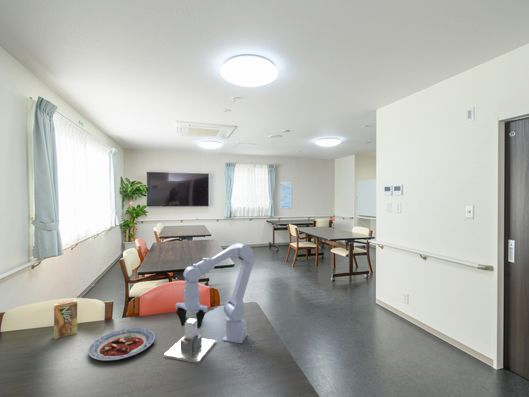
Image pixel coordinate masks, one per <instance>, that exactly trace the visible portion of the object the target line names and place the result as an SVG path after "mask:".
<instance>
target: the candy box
mask: <svg viewBox="0 0 529 397" xmlns="http://www.w3.org/2000/svg"><path fill="white" fill-rule="evenodd" d="M76 334H78V301H77V299H73V300H69V301H63V302H57V303H54V305H53V339H54V340H57V339H60V338H63V337H67V336H68V337H69V336H72V335H76Z"/></svg>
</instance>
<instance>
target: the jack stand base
mask: <svg viewBox="0 0 529 397" xmlns="http://www.w3.org/2000/svg"><path fill="white" fill-rule="evenodd" d="M202 336H203V335H201V334H199V333H198V337H197V338H196V339H195V340H194V341H188V340H185V335H184V336H183V337H181V338H180V339H179V340H178V341H176V343H175V344H174V345H173V346H171V347H170V348H169V349H168V350H167V351H166V352H164V354H163V357H164V358H167V359H173V360H179V361H183V362H188V363H189V362H190V363H196V364H200V363H201V361H202V360H203V358H205V357H206V356H207V354H208V353H209V352H210V350H211V349H212V348H214V346H215V345H216V343H217V339H210V338H205V337H202Z"/></svg>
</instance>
